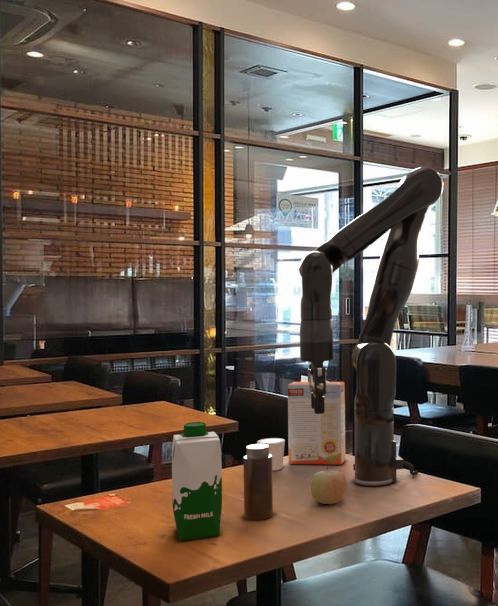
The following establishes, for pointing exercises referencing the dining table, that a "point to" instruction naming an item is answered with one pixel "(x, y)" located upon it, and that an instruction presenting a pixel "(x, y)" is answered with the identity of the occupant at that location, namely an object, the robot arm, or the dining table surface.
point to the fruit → (328, 486)
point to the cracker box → (316, 425)
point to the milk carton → (196, 482)
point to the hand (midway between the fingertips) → (317, 411)
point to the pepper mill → (258, 483)
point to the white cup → (275, 451)
